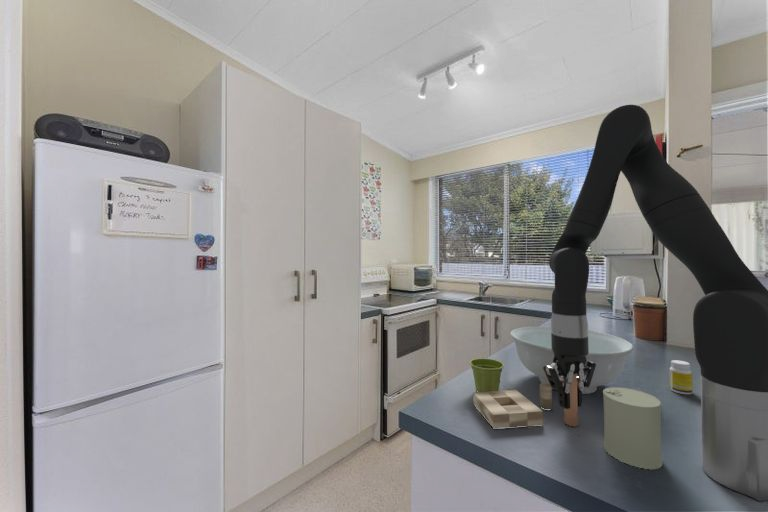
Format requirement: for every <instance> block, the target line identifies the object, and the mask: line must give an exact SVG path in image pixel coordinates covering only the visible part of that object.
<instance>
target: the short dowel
mask: <svg viewBox="0 0 768 512" xmlns="http://www.w3.org/2000/svg"><path fill="white" fill-rule="evenodd" d="M552 392H553V389H552V387H551V386H550V384H547V383H541V382H540V383H539V408H540V407H542V408H544V409H552V410H553V393H552Z"/></svg>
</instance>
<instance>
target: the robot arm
mask: <svg viewBox="0 0 768 512" xmlns="http://www.w3.org/2000/svg"><path fill="white" fill-rule="evenodd" d="M654 137H655V136H654V135H653V130H652V123H651V119H650V116H649V114H648V112H647V111H646V110H645V108H643V107H641V106H640V105H637V104H624V105H620V106H618V107H616V108H614V109H612V110H611V111H610V112H608V114H607V115H605V117H604V118H603V120H602V121H601V123H600V125H599V128H598V131H597V135H596V140H595V145H594V149H593V153H592V157H591V160H590V164H589V167H588V169H587V173H586V175H585V178H584V181H583V183H582V185H581V189H580V191H579V193H578V197H577V199H576V201H575V203H574V205H573V207H572V210H571V212H570V214H569V217H568V218H567V221H566V224H565V227H564V229H563V231H562V234H560V235H561V236H559V239H558V240H557V241H556V244H555V245H554V247H553V249H552V251H551V254H550V256H549V260H548V266H549V268H550V270H551V271H552V272H553V273H554V289H553V291H552V294H551V319H550V327H551V346H552V351H553V352H554V359H553V363H552V364H551V365H549V366H547V365H544V367H543V369H544V371H545V374H546V376H547V378H548V381H549V383H550V386H551V387H552V388H554V389H556V390H555V391H558V403H559V406H560V407H562V408H563V409H564V408H565V409H570V393H569V391H570V384H571V383H572V380H573V374H577V401H578V408H580V407H582V404H583V394H582V391H583V390H584V387H589V386H590V383H591V380H592V377H593V373H594V370H595V367H596V364H595V363H594V362H591V361H588V360H587V359H586V356H587V355H588V353H589V348H588V330H589V324H588V317H587V298H586V297H587V296H586V295H587V289H588V285H589V284H588V283H589V277H590V276H589V275H590V262H589V258H588V255H587V254H586V253H587V252H588V250H589V247H590V245H591V244H592V243H594V241H595V240H596V239H597V238H598V236H599V235H600V233H601V232H602V229H603V227H604V225H605V222H606V220H607V218H608V215H609V213H610V210H611V207H612V205H613V202H614V201H613V199H614V196H615V193H616V192H615V191H616V188H617V184H618V181H619V177H620V174H621V173H622V174H623V176H624V178H626V181H627V182H628V184H629V186H630V188H631V191H632V194H633V195H632V196H633V197H634V200H635V202H636V204H637V206H638V208H639V211H640V213H641V215H642V217H643V218H644V220H645V221H646V224H647V226H648V227H649V228H650V230H651V232H652V233H653V235H654V236H655V238H656V239H657V240H658V242H659V243H661V244H662V246H663V247H664V248H665V249H666V250H668V251H669V252H670V253H671V254H672V255H673V256H674V257H675V258H677V260H679V262H681V264H683V265H684V266H685V267H686V268H687V269H688V270H689V271H690V272H691V274H692V275H693V276H694V278H695V280H696V281H697V283H698V285H699V286H700V288H701V290H702V292H703V294H704V296H701V298H700V299H699V300H697V302H696V304H695V305H694V309H693V313H692V314H693V316H692V324H693V325H692V326H693V343H694V354H695V355H694V356H695V359H696V360H697V363H698V365H699V368H700V403H701V404H700V406H701V409H700V411H701V444H702V445H701V447H702V449H701V451H702V455H701V456H702V457H701V459H702V470H703V471H704V473H705V474H706V475H707V476H708V477H710V478H711V479H712V480H714V481H715V482H716V483H719V484H720V485H722V486H723V487H726V488H728V489H730V490H732V491H735V492H737V493H740V494H744V495H746V496H748V497H751V498H752V499H754V500H756V501H757V502H758V501H759V502H763V501H768V289H767V287H765V286H764V284H763V283H762V282H761V281H760V280H759V279H758V277H756V275H755V274H754V273H753V272H752V271H751V269H749V267H748V266H747V265H746V264H745V262H744V261H743V260H742V259H741V257H740V255H739V254H738V252H737V251H736V249H735V247H734V245H733V244H732V242H731V241H730V238H729V237H728V236H727V234H726V232H725V231H724V230H723V228H722V226H721V225H720V224H719V221H718V220H717V219H716V217H715V215H714V214H713V213H712V211H711V209H710V207H709V206H708V205H707V203H706V201H705V200H704V199H703V197H702V196H701V194H700V193H699V192H698V190H697V189H696V188H695V187H694V186H693V185H692V184H691V182H689V181H688V180H687V179H686V178H685V177H684V176H683V175H681V174H680V173H679V172H678V171H676V169H674V168H673V167H672V166H671V165H670V164H669V163H668V162H667V160H666V159H665V158H664V155H663V153H662V151H661V150H660V148H659V147H658V145H657V142H656V140H655V138H654ZM562 375H563V376H565V377H567V378H564V377H563V376H562ZM585 375H586V380H585V379H584V376H585ZM584 380H585V381H584ZM563 382H564V386H563ZM554 389H553V390H554Z"/></svg>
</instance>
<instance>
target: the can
mask: <svg viewBox="0 0 768 512" xmlns="http://www.w3.org/2000/svg"><path fill="white" fill-rule="evenodd" d="M602 395H603V423H604V425H603V429H604V431H603V432H604V433H603V434H604V435H603V436H604V437H603V438H604V440H603V448H604V451H605V452H606V453H607V452H608V453H607V455H609V454H610V455H611V456H613V457H614V458H616V459H619V460H620V461H623V462H625V463H628V464H630V465H633V466H637V467H640V468H644V469H643V470H647V469H649V470H653V471H654V470H659V469H660V468H661V467H662V466H663V463H664V461H663V458H662V457H663V456H662V429H661V428H662V427H661V426H662V424H661V422H662V419H661V418H662V417H661V410H662V409H661V406H662V402H661V400H660V399H658V397H656V396H653V395H652V394H649V393H648V392H647V393H646V392H644V391H641V390H637V389H633V388H629V387H628V388H627V387H622V386H621V387H619V386H613V387H612V386H610V387H606V388H604V389H603V390H602ZM610 455H609V456H610ZM611 456H610V457H611ZM613 457H612V458H613ZM614 458H613V459H614ZM616 459H615V460H616ZM620 461H619V462H620ZM640 468H639V469H640Z"/></svg>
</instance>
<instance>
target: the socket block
mask: <svg viewBox="0 0 768 512" xmlns="http://www.w3.org/2000/svg"><path fill="white" fill-rule="evenodd" d="M472 401H473V402H472V404H473V403H474V404H475V405H476V407H477V408H478V409H479V410H480V412H481V413H482V414H483V415H484V416H485V418H486V419H487V420H488V421H489V423H490V424H491V425H492V427H493V428H499V427H517V426H534V425H543V426H544V412H543V411H544V410H542V409H541V408H540V407H538V406H537V405H536V404H534V403H533V402H532V401H530V399H528V398H527V397H526V396H525V395H523V394H522V393H521V392H519V391H518V390H516V389H510V390H499V391H490V392H476V391H475V392H472Z"/></svg>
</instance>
